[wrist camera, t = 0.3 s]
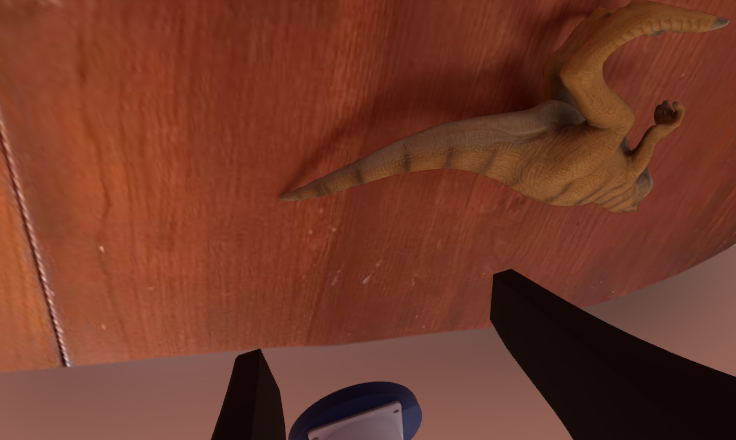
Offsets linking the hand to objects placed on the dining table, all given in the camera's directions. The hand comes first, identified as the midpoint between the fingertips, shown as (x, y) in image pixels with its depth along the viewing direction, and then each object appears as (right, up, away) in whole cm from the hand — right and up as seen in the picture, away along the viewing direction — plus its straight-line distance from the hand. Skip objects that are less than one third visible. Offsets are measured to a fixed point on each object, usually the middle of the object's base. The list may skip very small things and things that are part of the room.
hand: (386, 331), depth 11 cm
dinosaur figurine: (+7, +9, +9) cm, 14 cm away
